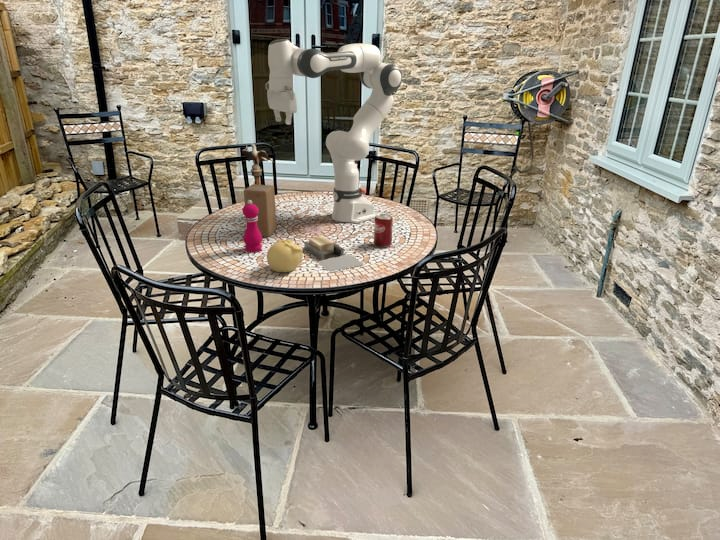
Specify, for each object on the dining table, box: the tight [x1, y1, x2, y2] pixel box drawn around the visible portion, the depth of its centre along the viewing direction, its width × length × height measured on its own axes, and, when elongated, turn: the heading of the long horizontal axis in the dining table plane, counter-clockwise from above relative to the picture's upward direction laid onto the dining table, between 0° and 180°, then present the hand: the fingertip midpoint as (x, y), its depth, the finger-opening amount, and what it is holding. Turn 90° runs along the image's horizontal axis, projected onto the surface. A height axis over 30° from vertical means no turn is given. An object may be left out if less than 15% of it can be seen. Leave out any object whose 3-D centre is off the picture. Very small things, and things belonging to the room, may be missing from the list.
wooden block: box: [243, 183, 278, 238], centre depth 201 cm, size 10×10×20 cm
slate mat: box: [316, 254, 364, 274], centre depth 176 cm, size 14×10×1 cm
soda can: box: [373, 213, 394, 248], centre depth 193 cm, size 7×7×12 cm
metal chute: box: [303, 241, 345, 261], centre depth 185 cm, size 10×14×3 cm
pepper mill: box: [242, 200, 263, 253], centre depth 184 cm, size 7×7×20 cm
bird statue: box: [241, 142, 275, 185], centre depth 220 cm, size 17×13×35 cm
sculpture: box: [266, 239, 304, 273], centre depth 170 cm, size 11×12×11 cm
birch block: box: [308, 235, 335, 254], centre depth 186 cm, size 6×9×4 cm, turn 32°
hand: (283, 122), depth 191 cm, fingers open, 8 cm apart
